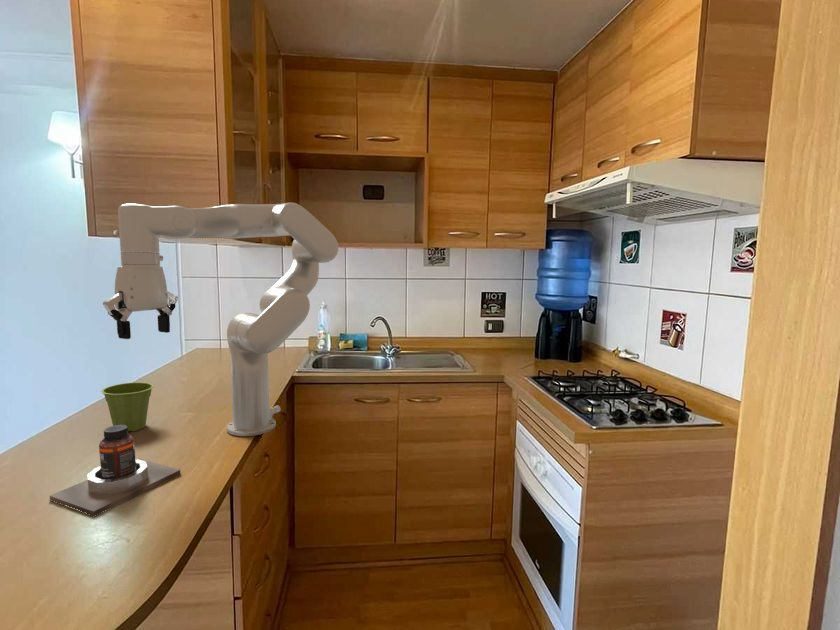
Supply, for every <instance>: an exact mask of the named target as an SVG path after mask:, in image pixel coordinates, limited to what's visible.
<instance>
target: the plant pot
mask: <svg viewBox="0 0 840 630" xmlns="http://www.w3.org/2000/svg"><path fill="white" fill-rule="evenodd" d="M154 387H155V386H154V384H153V383H150V382H146V381H145V382H144V381H143V382H142V381H141V382H140V381H139V382H138V381H136V382H135V381H133V382H122V383H119V384H113V385H109V386H106V387H104V388H102V389H101V390H100V392H101V393H102V394H103V396H104V399H105V401H106V403H107V406H108V411H109V415H110V419H111V423H112V426H115V425H126V426H127V429H128V432H138V431H140V430H142V429H144V428H145V427H146V425H147V418H148V417H147V416H148V411H149V404H150V403H149V402H150V397H151V396H152V389H153V388H154Z"/></svg>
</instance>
